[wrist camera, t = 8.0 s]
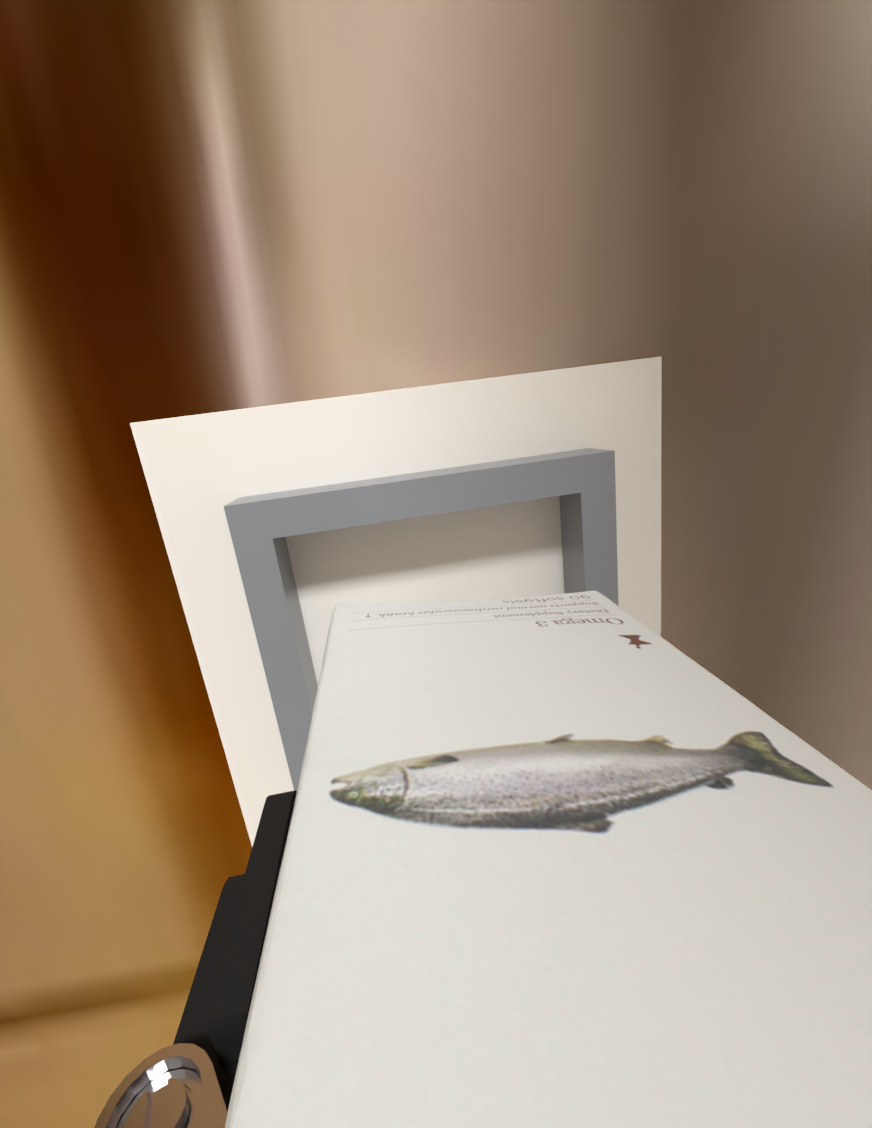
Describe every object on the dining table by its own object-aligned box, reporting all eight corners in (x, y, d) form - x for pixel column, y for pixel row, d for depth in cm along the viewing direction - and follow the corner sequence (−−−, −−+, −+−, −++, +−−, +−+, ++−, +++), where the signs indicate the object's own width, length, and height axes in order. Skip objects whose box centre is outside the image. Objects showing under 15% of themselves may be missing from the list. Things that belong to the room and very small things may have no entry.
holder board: (143, 423, 17) (97, 422, 14) (646, 359, 18) (697, 347, 16) (262, 845, 22) (245, 908, 19) (648, 766, 24) (687, 813, 21)
